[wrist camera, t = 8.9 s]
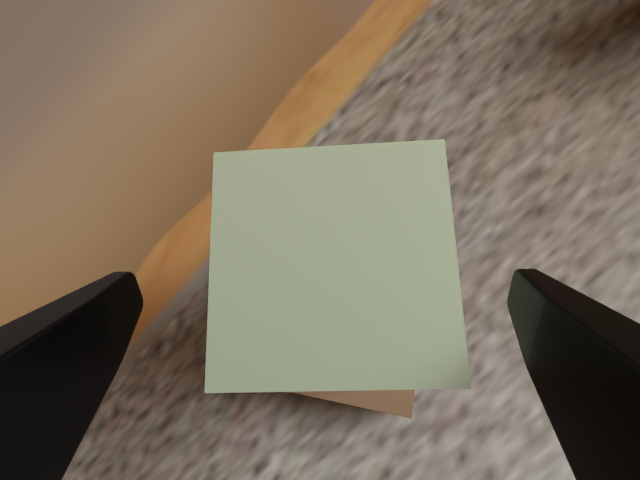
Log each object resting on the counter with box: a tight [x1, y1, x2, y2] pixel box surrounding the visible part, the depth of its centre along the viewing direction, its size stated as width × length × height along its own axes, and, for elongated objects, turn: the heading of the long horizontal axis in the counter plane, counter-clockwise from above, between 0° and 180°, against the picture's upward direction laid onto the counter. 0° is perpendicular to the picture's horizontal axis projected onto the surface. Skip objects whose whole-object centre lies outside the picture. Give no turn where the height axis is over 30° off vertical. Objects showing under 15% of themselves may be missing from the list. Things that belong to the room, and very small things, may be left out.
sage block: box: [205, 139, 471, 393], centre depth 13 cm, size 5×5×10 cm
